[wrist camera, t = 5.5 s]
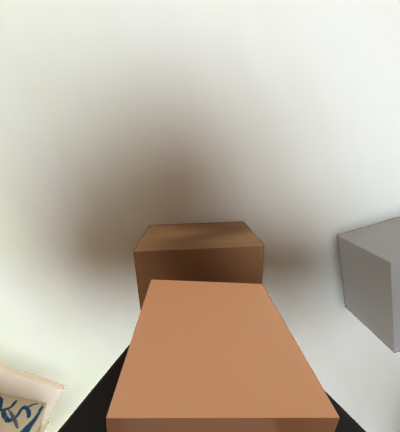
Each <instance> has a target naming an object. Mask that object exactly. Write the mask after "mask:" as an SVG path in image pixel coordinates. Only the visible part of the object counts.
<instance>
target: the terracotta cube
mask: <svg viewBox="0 0 400 432" xmlns="http://www.w3.org/2000/svg"><path fill="white" fill-rule="evenodd" d="M339 418H340V417H339V415H338V414H337V412H336V410H335V408H334V407H333V405H332V403H331V402H330V400H329V398H328V396H327V395H326V393H325V391H324V389H323V388H322V386H321V384H320V383H319V381H318V379H317V377H316V376H315V374H314V372H313V370H312V369H311V367H310V365H309V364H308V362H307V360H306V358H305V357H304V355H303V353H302V351H301V350H300V348H299V346H298V345H297V343H296V341H295V339H294V338H293V336H292V334H291V332H290V331H289V329H288V327H287V326H286V324H285V322H284V320H283V319H282V317H281V315H280V314H279V312H278V310H277V308H276V307H275V305H274V303H273V301H272V300H271V298H270V296H269V295H268V293H267V291H266V289H265V288H264V286H263V284H251V283H226V282H201V281H176V280H151V282H150V285H149V288H148V291H147V294H146V297H145V300H144V303H143V306H142V309H141V312H140V315H139V318H138V322H137V325H136V328H135V331H134V334H133V337H132V340H131V343H130V346H129V349H128V352H127V355H126V358H125V361H124V364H123V367H122V371H121V374H120V377H119V380H118V383H117V386H116V389H115V392H114V395H113V398H112V401H111V404H110V407H109V410H108V413H107V417H106V427H107V432H335V430H336V427H337V424H338V421H339Z"/></svg>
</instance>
